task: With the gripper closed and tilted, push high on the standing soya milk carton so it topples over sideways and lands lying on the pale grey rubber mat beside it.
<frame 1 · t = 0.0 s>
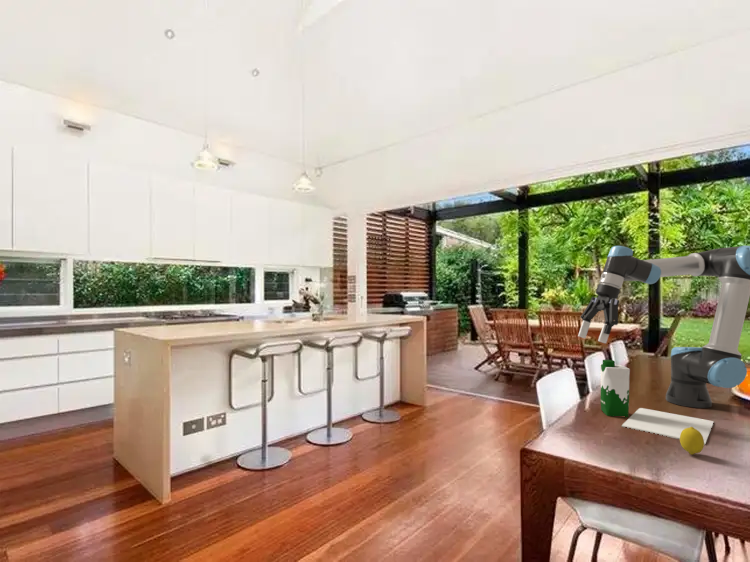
hand: (591, 339, 156), 28 cm above the table, tool tilted 20°, fingers open, 13 cm apart
lemon: (691, 455, 120), on the table
mat: (668, 424, 145), on the table
soya milk: (614, 414, 156), on the table
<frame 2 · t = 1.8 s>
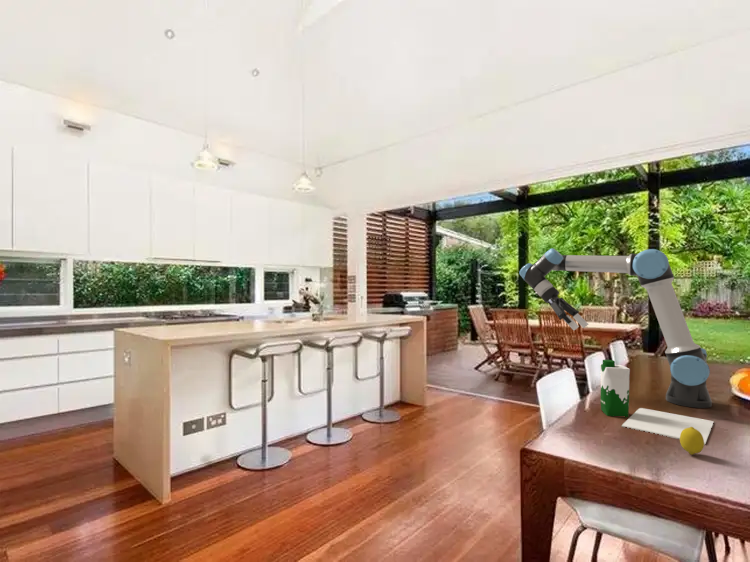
hand: (581, 327, 181), 30 cm above the table, tool tilted 45°, fingers open, 13 cm apart
nothing on the table moved.
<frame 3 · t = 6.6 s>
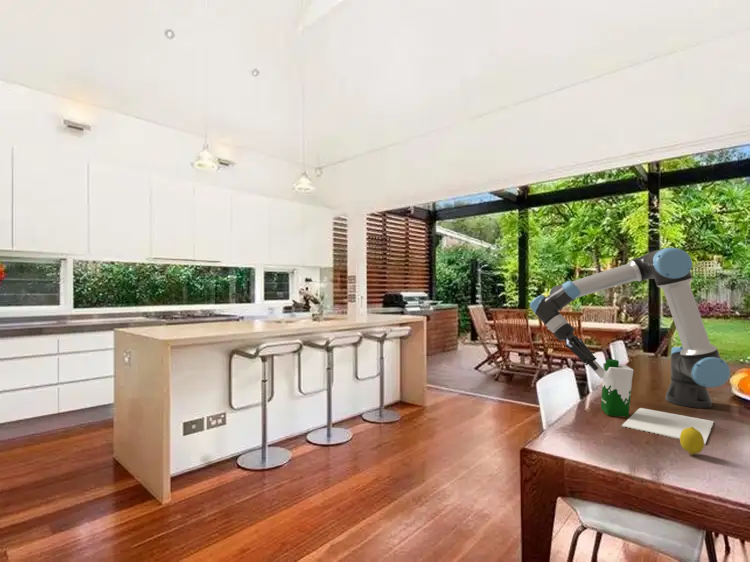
hand: (604, 376, 158), 14 cm above the table, tool tilted 45°, fingers closed
soya milk: (614, 413, 156), on the table, touching gripper
everything else where it was.
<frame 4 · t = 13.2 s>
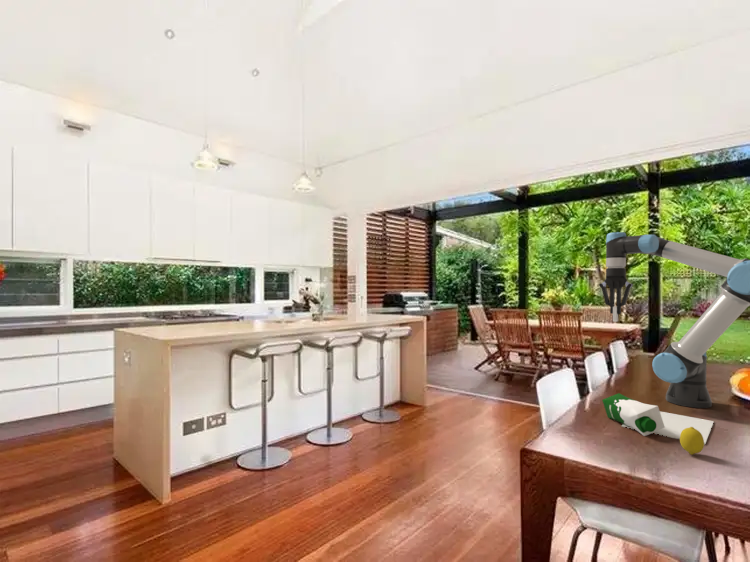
hand: (615, 321, 183), 32 cm above the table, tool pointing down, fingers closed
soya milk: (613, 405, 152), point 5 cm above the table, touching mat
everything else where it was.
at the end: soya milk tilted 89°; soya milk touching mat, table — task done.
